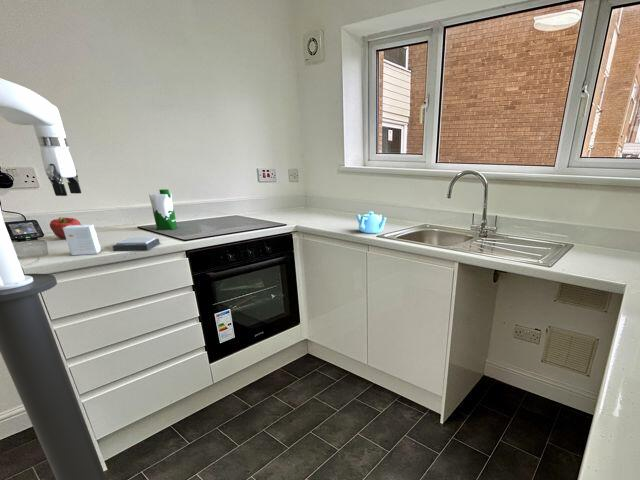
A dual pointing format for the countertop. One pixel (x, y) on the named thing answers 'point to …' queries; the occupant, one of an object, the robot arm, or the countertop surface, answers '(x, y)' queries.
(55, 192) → the robot arm
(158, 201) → the milk carton
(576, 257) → the countertop surface
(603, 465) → the countertop surface
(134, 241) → the scale
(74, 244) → the small box
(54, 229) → the vegetable
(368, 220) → the teapot
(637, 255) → the countertop surface
